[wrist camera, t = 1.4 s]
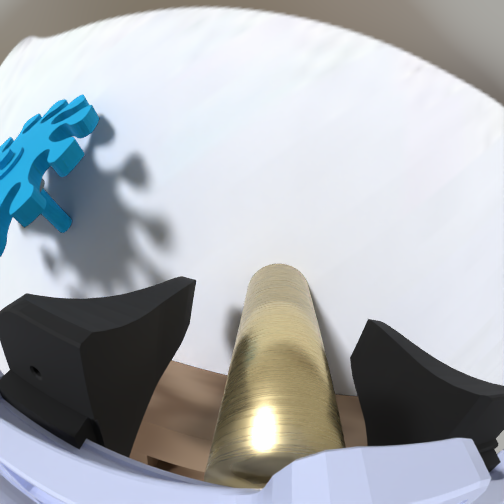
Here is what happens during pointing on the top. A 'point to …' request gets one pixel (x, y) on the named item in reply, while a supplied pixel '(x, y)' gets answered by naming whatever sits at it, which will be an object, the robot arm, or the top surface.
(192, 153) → the top surface
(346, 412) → the hole block
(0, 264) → the top surface
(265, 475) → the peg
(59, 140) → the gear
